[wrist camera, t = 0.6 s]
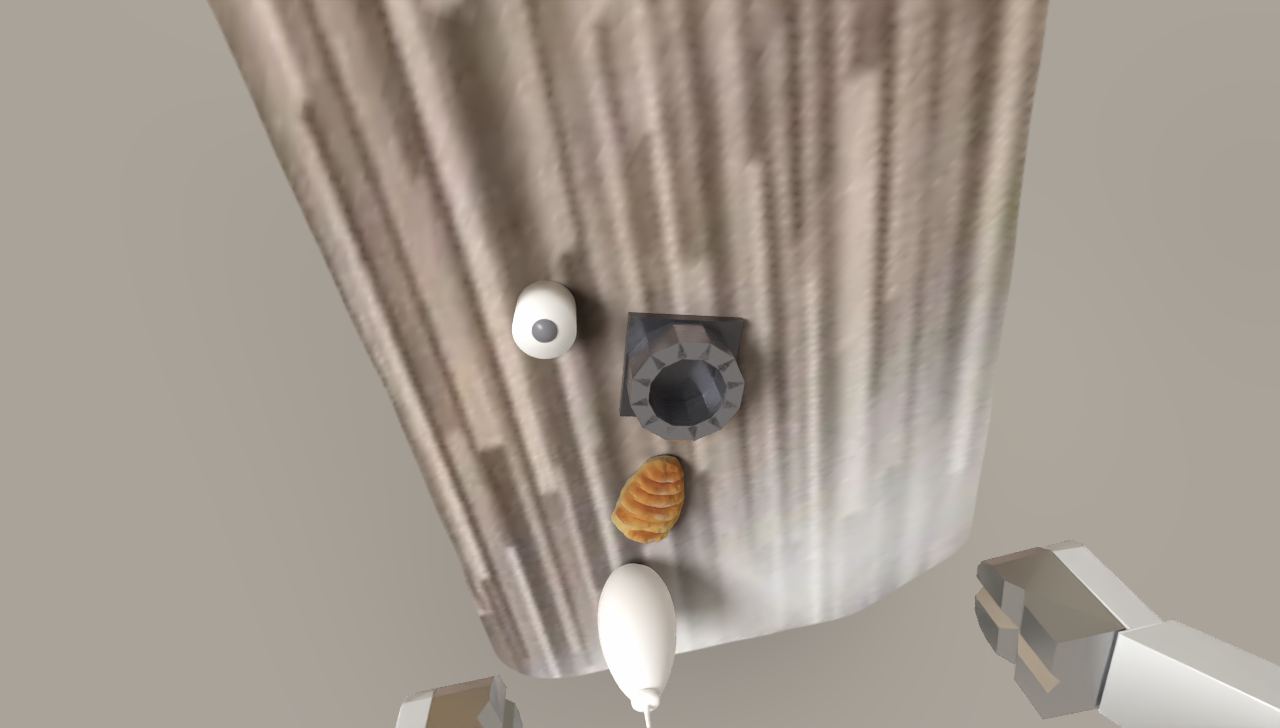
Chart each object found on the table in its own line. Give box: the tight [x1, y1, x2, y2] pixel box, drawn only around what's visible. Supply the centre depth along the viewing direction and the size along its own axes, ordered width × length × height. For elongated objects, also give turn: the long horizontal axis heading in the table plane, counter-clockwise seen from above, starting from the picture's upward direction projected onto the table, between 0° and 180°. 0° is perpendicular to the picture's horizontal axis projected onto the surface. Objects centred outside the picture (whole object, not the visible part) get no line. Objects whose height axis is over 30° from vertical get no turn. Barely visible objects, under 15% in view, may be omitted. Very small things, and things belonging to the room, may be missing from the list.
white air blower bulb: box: [598, 563, 676, 728], centre depth 59 cm, size 8×8×18 cm
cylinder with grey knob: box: [512, 280, 577, 359], centre depth 49 cm, size 5×5×5 cm
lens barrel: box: [619, 312, 745, 441], centre depth 53 cm, size 10×10×5 cm
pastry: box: [611, 455, 685, 543], centre depth 60 cm, size 9×7×4 cm
